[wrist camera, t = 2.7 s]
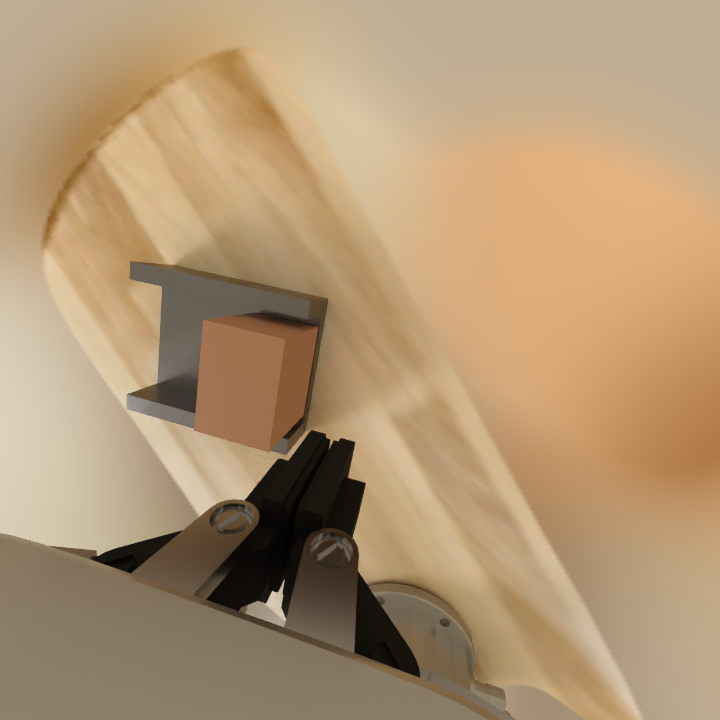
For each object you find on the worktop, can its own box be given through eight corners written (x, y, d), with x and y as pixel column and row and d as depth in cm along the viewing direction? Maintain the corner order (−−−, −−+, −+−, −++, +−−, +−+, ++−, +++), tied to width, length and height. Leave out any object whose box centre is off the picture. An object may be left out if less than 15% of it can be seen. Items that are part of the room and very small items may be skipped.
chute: (328, 298, 25) (310, 300, 21) (305, 431, 27) (286, 454, 24) (172, 265, 26) (130, 261, 23) (165, 392, 29) (126, 408, 25)
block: (318, 327, 24) (285, 339, 18) (303, 415, 26) (268, 452, 20) (254, 312, 25) (203, 319, 19) (244, 399, 26) (194, 430, 21)
